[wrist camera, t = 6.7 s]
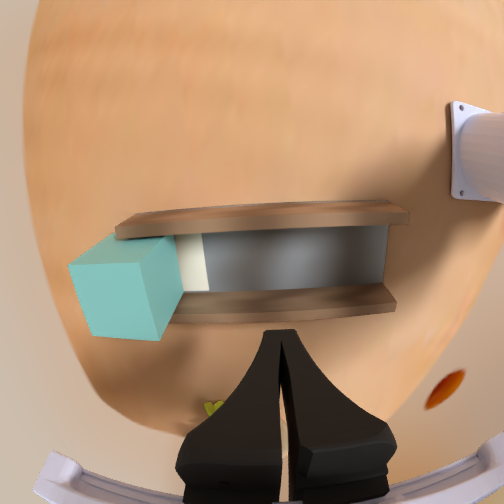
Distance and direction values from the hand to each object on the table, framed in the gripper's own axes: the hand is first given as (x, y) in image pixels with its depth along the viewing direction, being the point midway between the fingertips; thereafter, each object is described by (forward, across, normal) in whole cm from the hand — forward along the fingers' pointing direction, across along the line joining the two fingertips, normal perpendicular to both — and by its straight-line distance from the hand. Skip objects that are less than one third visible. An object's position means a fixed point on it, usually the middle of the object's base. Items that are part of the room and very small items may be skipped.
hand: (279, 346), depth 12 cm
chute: (+9, +1, -1) cm, 9 cm away
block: (+8, +9, -1) cm, 13 cm away
